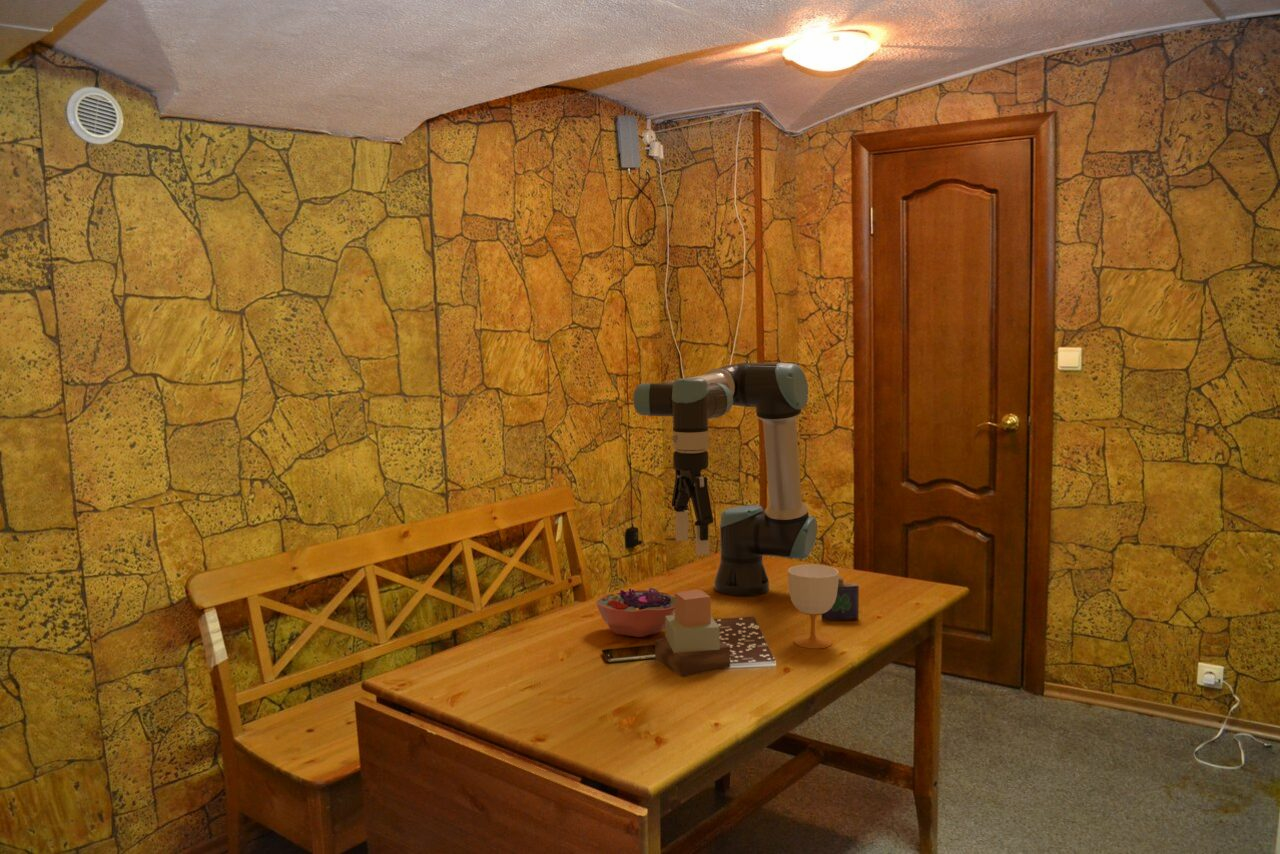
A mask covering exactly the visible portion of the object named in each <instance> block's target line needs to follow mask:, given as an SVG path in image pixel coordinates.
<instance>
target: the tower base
mask: <svg viewBox="0 0 1280 854" xmlns="http://www.w3.org/2000/svg"><path fill="white" fill-rule="evenodd" d="M654 657H655V661H657V662H658V663H660V664H661V665H663V666H664V667H666V668H667V669H669V670H671V671H672V672H673V673H675V674H677V675H679V676H680V677H682V678H685V677H689V676H695V675H699V674H703V673H709V672H713V671H718V670H721V669H726V668H730V667H731V647H730V646H729V645H727V644H726V643H724V642H722V641H720V650H707V651H693V652H679V653H674V652H673V650H672V648H671V646H670V645H669V643H668V641H667V639H666V637H663V638H658V639H654Z"/></svg>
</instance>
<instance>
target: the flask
mask: <svg viewBox="0 0 1280 854" xmlns="http://www.w3.org/2000/svg"><path fill="white" fill-rule="evenodd" d="M844 581H845V580H844V577H841V576H839V580H838V590H837V597H836V600H835V603H834V605H833V606H832V608H831V609H830V610H829V611H827V612H826V613H823V614H821V620H822V621H825V622H826V621H828V622H841V621H842V622H845V621H846V622H847V621H848V622H849V621H852V622H853V621H858V620H859V617H860V615H859V614H860V613H859V608H860V607H859V602H860V601H859V599H860V598H859V597H860V593H859V591H860V589H859V588H860V587H859V586H860V585H859V584H858V583H854V582H853V583H845V582H844Z"/></svg>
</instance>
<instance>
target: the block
mask: <svg viewBox="0 0 1280 854" xmlns="http://www.w3.org/2000/svg"><path fill="white" fill-rule="evenodd" d="M673 594H674V595H673V597H674V601H675V612H674V615H675V619H676V620H677V621H678V622H680V623H681V624H682V625H683V626H685V627H688V626H696V625H703V624H710V623H711V616H712V614H711V613H712V612H711V611H712V610H711V604H712V603H711V601H712V600H711V595H709V594H707V593H706V592H705V591H703V590H702V589H691V590H683V591H682V590H681V591H674V593H673Z"/></svg>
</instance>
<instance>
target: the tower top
mask: <svg viewBox="0 0 1280 854" xmlns="http://www.w3.org/2000/svg"><path fill="white" fill-rule="evenodd" d="M664 631H665V638H666V639H667V641H668V643H669V645H670V646H671V648H672V650H673V652H674V653H679V652H693V651H707V650H720V642H721V641H720V631H721V630H720V626H719V625H718V623H717V622H716V621H715V619H714V618H713V617H712V615H711V623H710V624H703V625H696V626H688V627H685V626H683V625H682V624H681V623H680V622H678V621H677V620H676V619H675V614H674V615H670V616H665V628H664Z"/></svg>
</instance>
